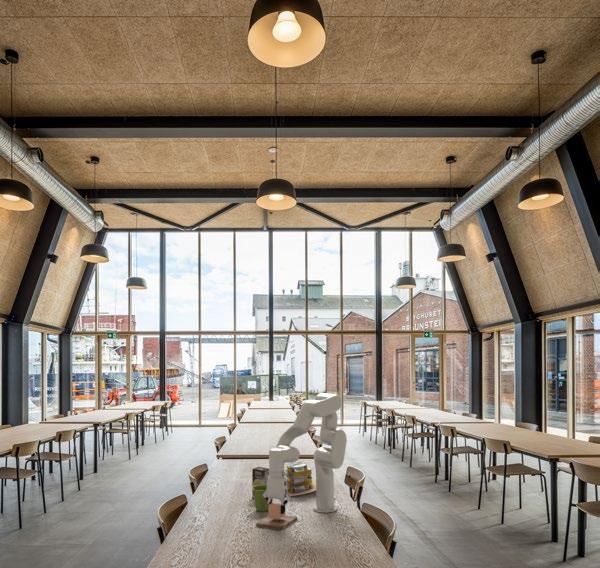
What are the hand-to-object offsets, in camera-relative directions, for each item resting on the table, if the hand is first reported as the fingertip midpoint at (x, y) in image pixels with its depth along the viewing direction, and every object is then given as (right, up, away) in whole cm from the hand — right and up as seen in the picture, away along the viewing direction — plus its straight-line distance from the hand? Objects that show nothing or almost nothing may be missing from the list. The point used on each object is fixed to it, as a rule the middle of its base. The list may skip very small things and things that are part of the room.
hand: (276, 512), depth 244 cm
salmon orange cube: (0, -2, 0) cm, 2 cm away
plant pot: (-8, -8, +20) cm, 23 cm away
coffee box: (-11, -11, +42) cm, 44 cm away
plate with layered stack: (+12, -12, +53) cm, 55 cm away
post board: (0, -5, -1) cm, 5 cm away
